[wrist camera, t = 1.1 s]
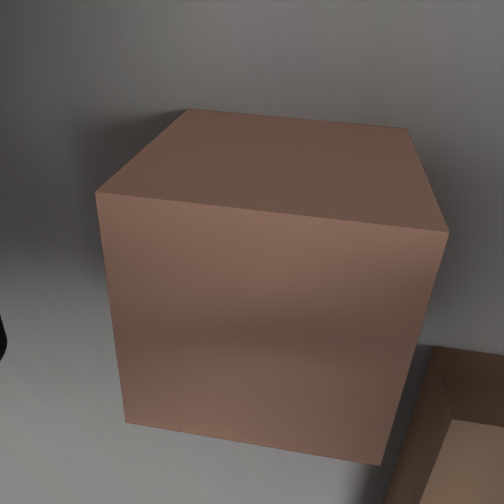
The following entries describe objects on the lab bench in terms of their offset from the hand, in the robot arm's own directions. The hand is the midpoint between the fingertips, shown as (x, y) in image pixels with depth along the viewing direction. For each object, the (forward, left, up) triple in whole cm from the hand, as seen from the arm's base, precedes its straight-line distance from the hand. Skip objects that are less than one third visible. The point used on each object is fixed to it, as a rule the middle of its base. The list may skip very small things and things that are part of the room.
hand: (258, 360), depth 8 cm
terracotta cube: (0, 0, -5) cm, 5 cm away
